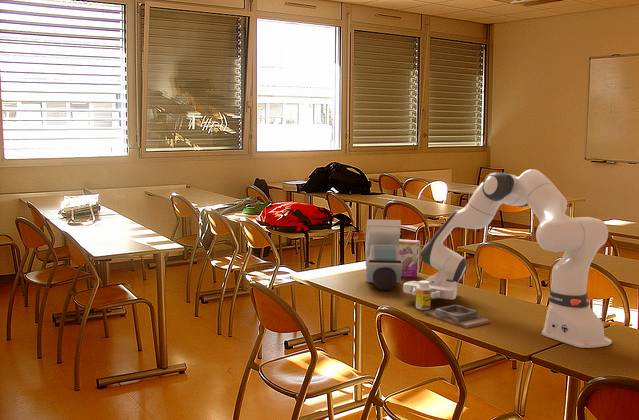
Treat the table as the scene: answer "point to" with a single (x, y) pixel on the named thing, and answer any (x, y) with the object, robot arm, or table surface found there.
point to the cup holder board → (458, 316)
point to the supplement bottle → (423, 295)
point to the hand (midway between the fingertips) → (422, 294)
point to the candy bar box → (409, 257)
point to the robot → (383, 253)
